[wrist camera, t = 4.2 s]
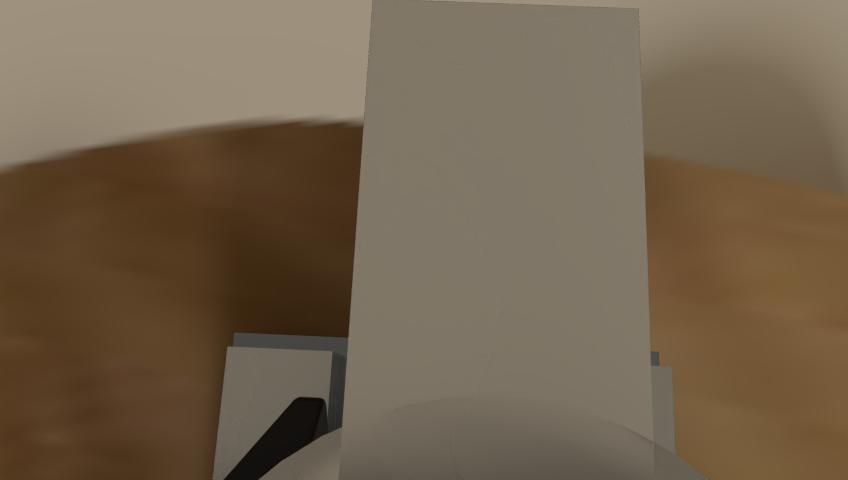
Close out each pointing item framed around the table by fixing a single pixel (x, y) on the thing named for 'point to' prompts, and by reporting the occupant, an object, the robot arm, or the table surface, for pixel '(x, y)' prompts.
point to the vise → (328, 389)
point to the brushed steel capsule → (498, 253)
